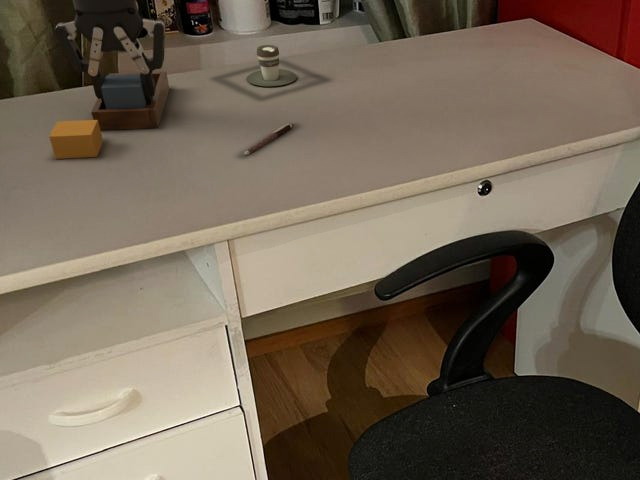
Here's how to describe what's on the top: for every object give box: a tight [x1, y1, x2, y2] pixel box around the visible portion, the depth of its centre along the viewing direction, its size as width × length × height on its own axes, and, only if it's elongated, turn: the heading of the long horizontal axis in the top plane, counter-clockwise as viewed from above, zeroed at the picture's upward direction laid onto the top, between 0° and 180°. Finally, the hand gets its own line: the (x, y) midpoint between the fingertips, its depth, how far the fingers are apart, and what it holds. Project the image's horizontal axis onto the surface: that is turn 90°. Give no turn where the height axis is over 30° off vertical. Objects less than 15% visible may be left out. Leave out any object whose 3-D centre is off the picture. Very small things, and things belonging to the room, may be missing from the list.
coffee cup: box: [246, 44, 298, 88], centre depth 133 cm, size 12×12×5 cm
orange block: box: [48, 119, 104, 160], centre depth 111 cm, size 5×5×3 cm
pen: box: [242, 122, 294, 157], centre depth 115 cm, size 11×1×1 cm, turn 156°
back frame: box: [90, 71, 170, 131], centre depth 123 cm, size 8×15×3 cm, turn 10°
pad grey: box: [101, 74, 147, 110], centre depth 118 cm, size 5×5×3 cm
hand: (127, 99), depth 119 cm, fingers closed on pad grey, 5 cm apart
